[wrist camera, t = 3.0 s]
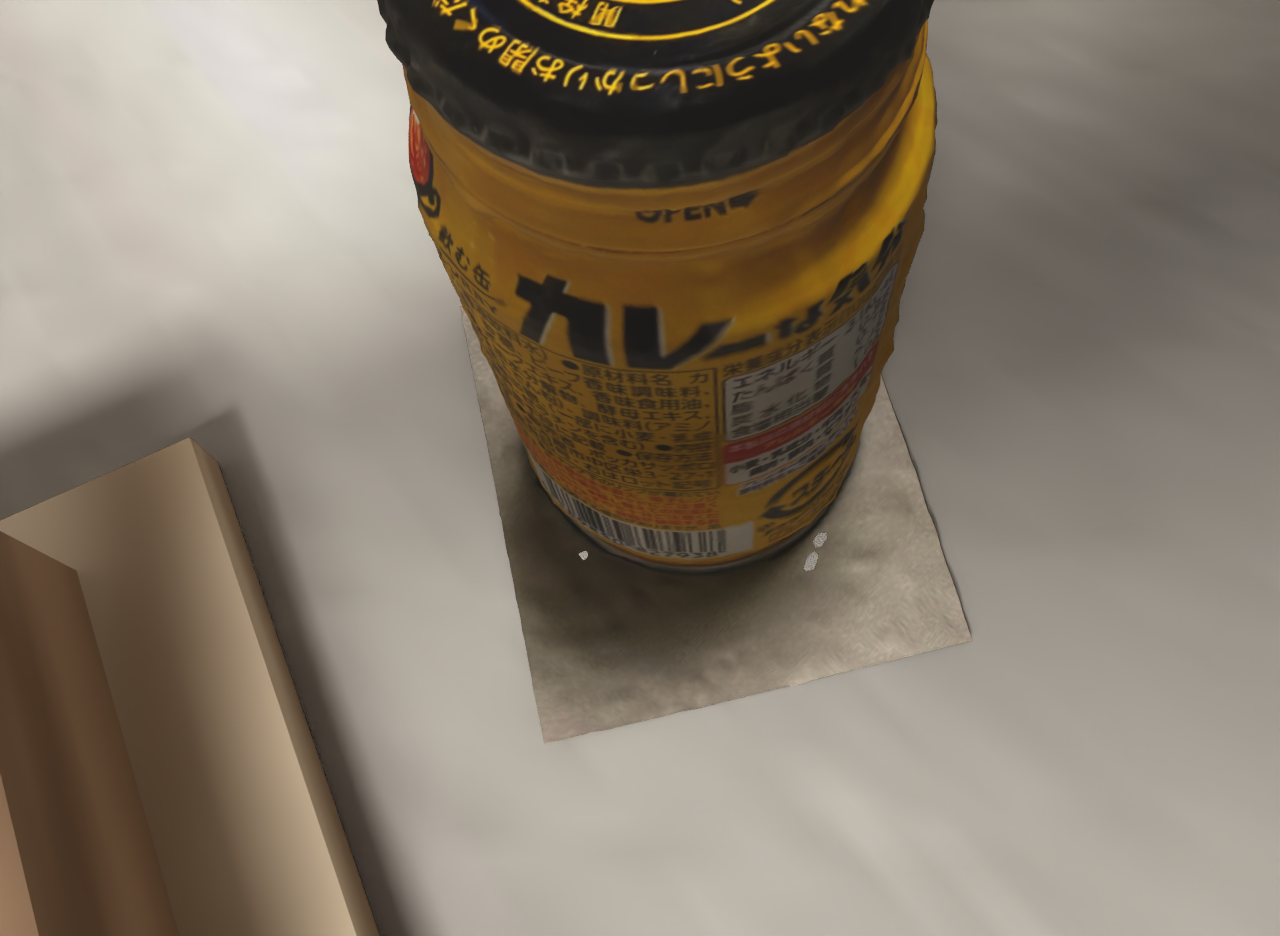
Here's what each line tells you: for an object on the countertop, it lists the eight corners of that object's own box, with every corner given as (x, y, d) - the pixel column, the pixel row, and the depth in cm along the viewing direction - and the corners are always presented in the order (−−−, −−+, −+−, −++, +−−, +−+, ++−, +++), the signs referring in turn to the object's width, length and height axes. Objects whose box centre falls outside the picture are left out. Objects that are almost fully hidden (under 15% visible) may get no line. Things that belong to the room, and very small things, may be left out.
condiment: (828, 223, 23) (911, -443, 12) (970, 643, 20) (1268, 286, 9) (461, 312, 23) (191, -271, 12) (547, 746, 20) (291, 523, 9)
